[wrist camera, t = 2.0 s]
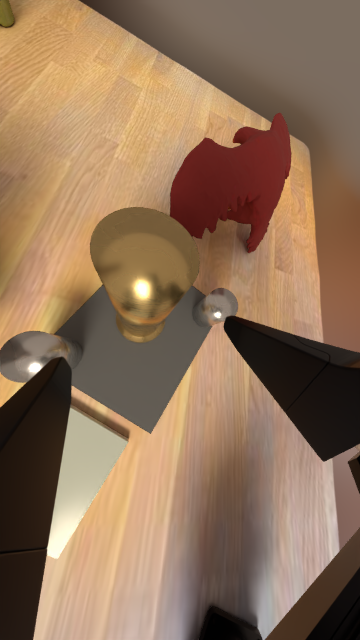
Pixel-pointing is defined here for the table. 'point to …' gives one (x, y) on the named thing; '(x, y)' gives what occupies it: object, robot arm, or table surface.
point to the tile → (81, 473)
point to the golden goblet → (143, 268)
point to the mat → (133, 358)
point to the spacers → (39, 347)
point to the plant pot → (6, 13)
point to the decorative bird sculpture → (233, 181)
